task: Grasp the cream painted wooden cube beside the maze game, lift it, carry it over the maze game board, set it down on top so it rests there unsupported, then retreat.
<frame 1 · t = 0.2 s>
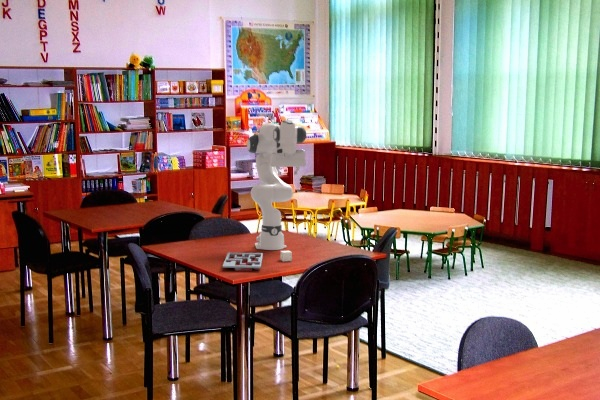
hand: (287, 174, 400), 47 cm above the table, fingers open, 8 cm apart
maze game: (243, 265, 388), on the table
cream cube: (286, 260, 401), on the table
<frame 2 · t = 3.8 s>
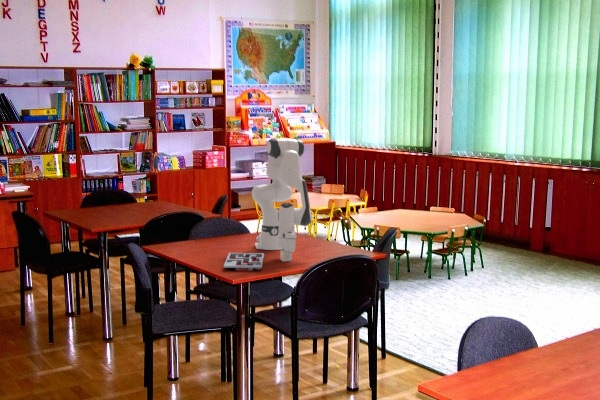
hand: (286, 257, 400), 2 cm above the table, fingers closed on cream cube, 5 cm apart
cream cube: (286, 260, 401), on the table, touching gripper
everything else where it was.
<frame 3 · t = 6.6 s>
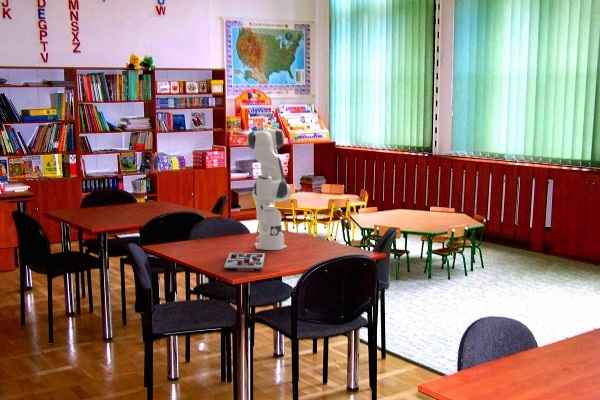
hand: (264, 230, 390), 18 cm above the table, fingers closed on cream cube, 5 cm apart
cream cube: (264, 233, 391), point 16 cm above the table, touching gripper
when the fingers open (6 cm above the table, at t = 9.7 s): cream cube drops 2 cm, resting on maze game.
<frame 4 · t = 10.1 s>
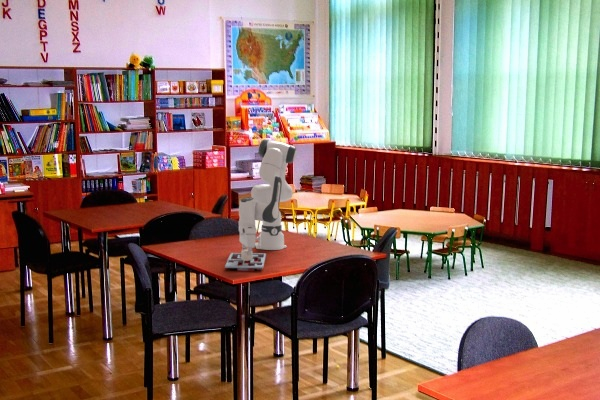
hand: (246, 253, 387), 6 cm above the table, fingers open, 8 cm apart
maze game: (246, 265, 388), on the table, touching cream cube
cream cube: (246, 259, 387), point 3 cm above the table, touching maze game
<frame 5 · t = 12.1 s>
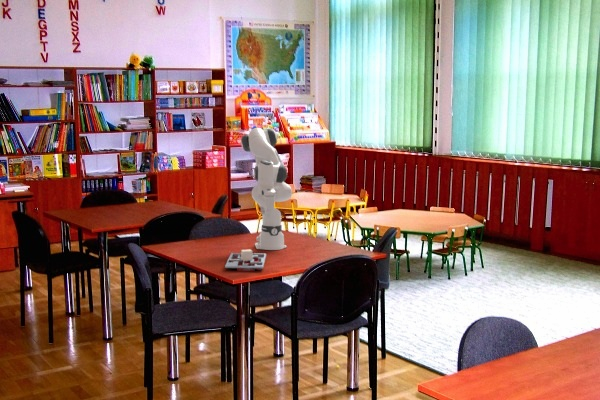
hand: (265, 215, 395), 25 cm above the table, fingers open, 8 cm apart
nothing on the table moved.
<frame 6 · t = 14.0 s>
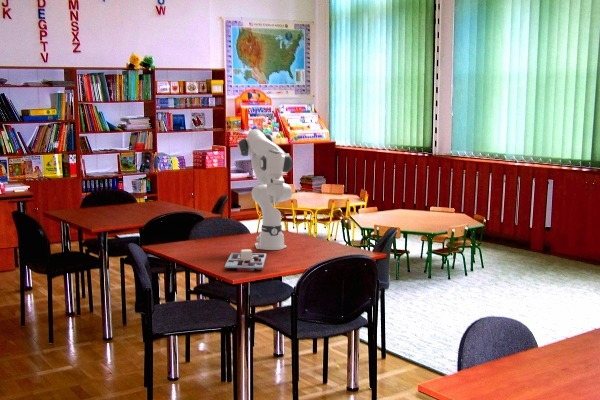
hand: (274, 204, 399), 31 cm above the table, fingers open, 8 cm apart
nothing on the table moved.
at the end: cream cube inside the target area in the maze game (0.2 cm from its centre), point 3.4 cm above the maze game's base; cream cube touching maze game; cream cube tilted 0° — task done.
